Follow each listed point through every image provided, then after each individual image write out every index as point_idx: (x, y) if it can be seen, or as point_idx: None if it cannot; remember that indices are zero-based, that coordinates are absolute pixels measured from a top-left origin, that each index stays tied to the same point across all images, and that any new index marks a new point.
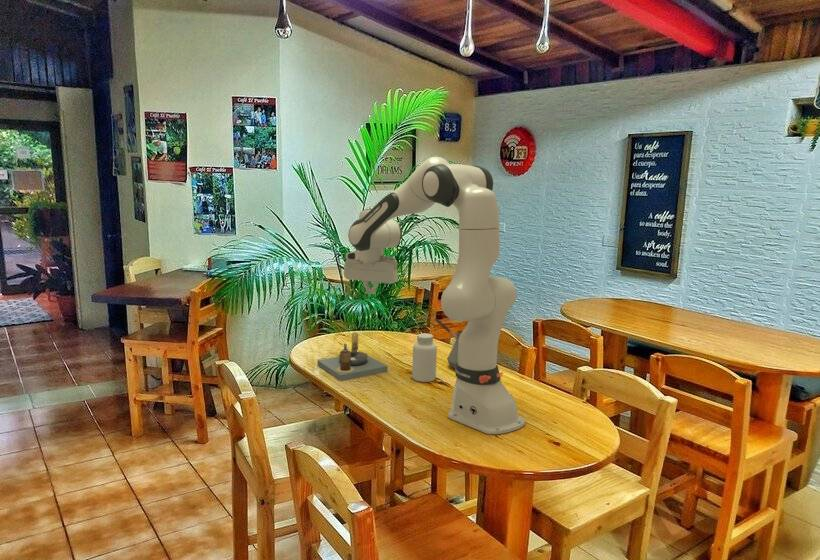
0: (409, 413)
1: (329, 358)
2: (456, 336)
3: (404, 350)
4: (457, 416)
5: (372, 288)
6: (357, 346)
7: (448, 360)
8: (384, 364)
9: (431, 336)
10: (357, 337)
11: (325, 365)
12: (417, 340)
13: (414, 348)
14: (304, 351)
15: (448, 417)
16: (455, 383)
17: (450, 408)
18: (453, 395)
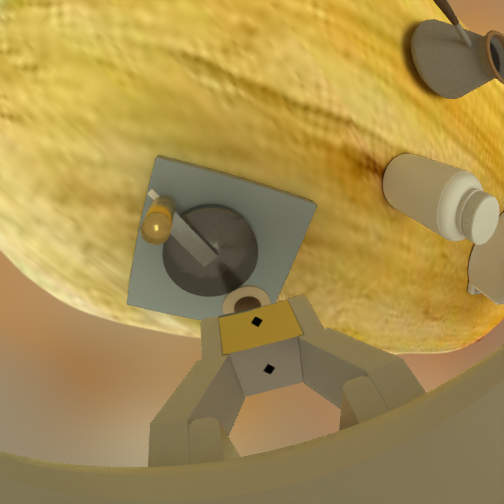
0: (427, 318)
1: (135, 275)
2: (469, 41)
3: (220, 4)
4: (478, 291)
5: (323, 386)
6: (174, 211)
7: (428, 83)
8: (302, 200)
9: (497, 216)
10: (171, 223)
11: (177, 315)
12: (462, 232)
13: (445, 237)
14: (15, 246)
15: (468, 292)
16: (500, 297)
17: (469, 274)
18: (489, 298)
